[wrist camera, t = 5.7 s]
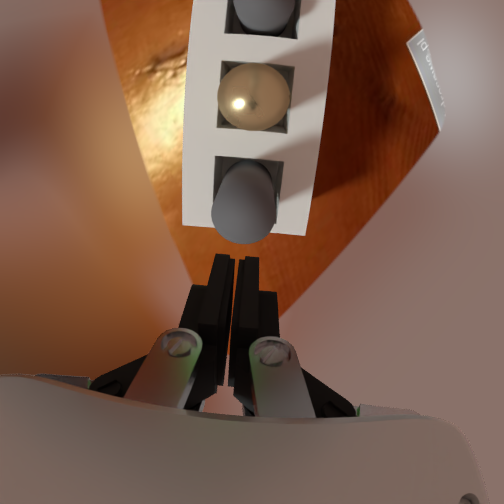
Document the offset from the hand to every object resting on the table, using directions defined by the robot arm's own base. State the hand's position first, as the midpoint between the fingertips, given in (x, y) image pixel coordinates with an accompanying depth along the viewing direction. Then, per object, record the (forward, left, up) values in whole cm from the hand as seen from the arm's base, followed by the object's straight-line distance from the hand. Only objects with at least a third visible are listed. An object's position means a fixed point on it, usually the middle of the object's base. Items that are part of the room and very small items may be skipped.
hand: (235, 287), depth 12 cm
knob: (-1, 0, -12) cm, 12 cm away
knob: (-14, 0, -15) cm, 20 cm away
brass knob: (-7, 0, -12) cm, 14 cm away
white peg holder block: (-7, 0, -16) cm, 18 cm away
